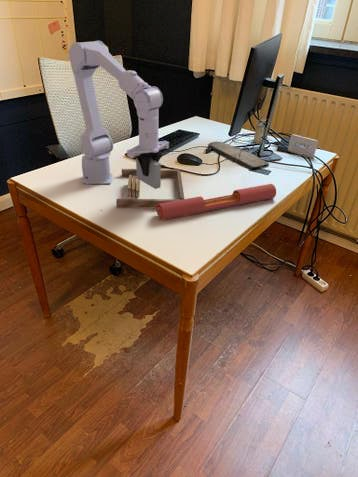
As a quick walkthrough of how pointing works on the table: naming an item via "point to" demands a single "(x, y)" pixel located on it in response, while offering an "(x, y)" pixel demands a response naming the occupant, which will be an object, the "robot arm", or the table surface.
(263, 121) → the lighter
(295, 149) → the cassette
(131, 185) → the offcut stack
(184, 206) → the blood vessel
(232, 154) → the stone slab
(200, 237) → the table surface
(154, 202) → the rack
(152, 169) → the grey upright plank
